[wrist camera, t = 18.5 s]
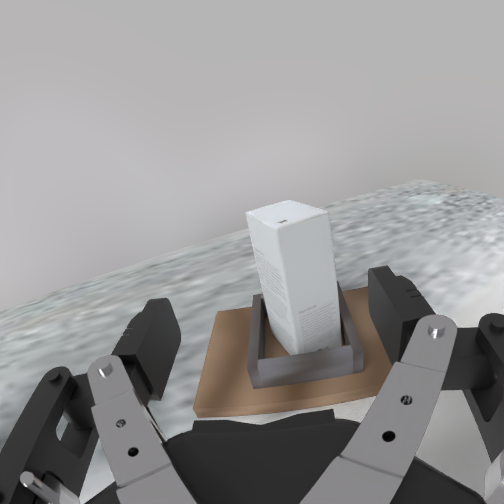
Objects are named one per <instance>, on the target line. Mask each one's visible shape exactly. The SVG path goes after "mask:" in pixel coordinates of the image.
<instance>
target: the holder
mask: <svg viewBox="0 0 504 504" xmlns="http://www.w3.org/2000/svg"><path fill="white" fill-rule="evenodd" d="M337 288H338V299H339V312H340V325H341V340H342V347H337V348H332V349H326V350H321V351H315V352H309V353H303V354H296V355H290V354H289V353H288V352H287V351H286V350H285V348H284V347H283V346H282V345H281V344H280V342H279V341H278V340H277V339H276V338H275V336H274V335H273V334H272V332H271V327H270V323H269V318H268V313H267V309H266V304H265V300H264V295H263V294H258V295H253V305H252V307H247V308H240V309H233V310H226V311H218V312H217V315H216V319H215V323H214V327H213V331H212V335H211V338H210V342H209V346H208V350H207V354H206V358H205V362H204V366H203V370H202V374H201V378H200V382H199V386H198V391H197V395H196V399H195V403H194V407H193V409H194V411H195V413H196V415H197V417H198V418H199V417H227V416H243V415H255V414H266V413H276V412H284V411H292V410H300V409H307V408H313V407H320V406H326V405H331V404H337V403H342V402H347V401H352V400H357V399H362V398H366V397H371V396H375V395H378V393H379V391H380V390H381V388H382V386H383V384H384V382H385V380H386V378H387V376H388V375H389V373H390V371H391V369H392V365H391V363H390V360H389V358H388V356H387V353H386V351H385V349H384V346H383V344H382V342H381V339H380V337H379V335H378V333H377V330H376V328H375V326H374V324H373V321H372V319H371V317H370V313H369V307H368V287H363V288H358V289H353V290H347V291H341V288H340V286H339V283H338V281H337Z"/></svg>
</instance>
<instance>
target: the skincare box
mask: <svg viewBox="0 0 504 504" xmlns="http://www.w3.org/2000/svg"><path fill="white" fill-rule="evenodd" d="M246 218H247V222H248V227H249V232H250V236H251V241H252V246H253V250H254V255H255V259H256V264H257V268H258V273H259V277H260V282H261V286H262V291H263V295H264V300H265V304H266V309H267V313H268V318H269V323H270V327H271V332H272V334H273V335H274V336H275V338H276V339H277V340H278V341H279V342H280V344H281V345H282V346H283V347H284V348H285V350H286V351H287V352H288V353H289V354H290V355H296V354H303V353H309V352H315V351H321V350H326V349H332V348H337V347H342V340H341V325H340V312H339V299H338V288H337V278H336V268H335V259H334V250H333V242H332V234H331V226H330V219H329V212H328V211H326V210H322V209H319V208H315V207H312V206H308V205H305V204H302V203H299V202H295V201H292V200H286V201H283V202H279V203H276V204H272V205H269V206H266V207H262V208H259V209H255V210H251V211H248V212H246Z"/></svg>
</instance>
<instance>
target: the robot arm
mask: <svg viewBox="0 0 504 504" xmlns="http://www.w3.org/2000/svg"><path fill="white" fill-rule="evenodd" d="M368 307H369V313H370V317H371V319H372V321H373V324H374V326H375V328H376V330H377V333H378V335H379V337H380V339H381V342H382V344H383V346H384V349H385V351H386V353H387V356H388V358H389V360H390V363H391V365H392V369H391V371H390V373H389V375H388V376H387V378H386V380H385V382H384V384H383V386H382V388H381V390H380V391H379V393H378V395H377V397H376V399H375V400H374V402H373V404H372V406H371V407H370V409H369V411H368V413H367V414H366V416H365V418H364V419H363V421H362V423H359V422H356V421H352V420H346V419H336V418H335V417H334V412H333V409H329V410H323V411H316V412H309V413H302V414H296V415H293V416H290V417H287V418H284V419H281V420H277V421H274V422H271V423H267V424H263V425H256V424H249V423H242V422H236V421H230V420H200V421H194V423H193V428H192V430H191V431H187V432H184V433H181V434H179V435H176V436H174V437H172V438H170V439H168V440H167V438H166V437H165V435H164V433H163V432H162V430H161V428H160V426H159V425H158V423H157V421H156V419H155V417H154V416H153V414H152V412H151V410H150V409H149V407H148V403H149V400H159V401H161V399H162V396H163V393H164V390H165V387H166V384H167V381H168V378H169V375H170V372H171V369H172V366H173V363H174V360H175V357H176V354H177V351H178V348H179V346H180V342H181V332H180V328H179V325H178V322H177V320H176V317H175V314H174V312H173V309H172V306H171V303H170V301H169V300H168V299H167V298H160V299H151V300H149V301H148V302H147V304H146V306H145V307H144V309H143V311H142V312H139V313H138V314H137V315H136V316H135V317H134V318H133V319H132V320H131V321H130V323H129V324H128V326H127V329H125V331H124V333H123V336H121V338H120V340H119V341H118V343H117V345H116V347H115V348H114V350H113V352H112V354H111V355H108V356H104V357H101V358H99V359H97V360H96V361H95V362H93V363H92V364H91V366H90V367H89V369H88V372H87V373H86V374H81V375H77V376H73V375H72V374H71V372H70V371H69V369H68V368H66V367H56V368H54V369H52V370H50V371H49V372H47V373H46V374H45V375H44V377H43V378H42V380H41V381H40V383H39V385H38V386H37V388H36V390H35V391H34V393H33V395H32V396H31V398H30V400H29V401H28V403H27V405H26V407H25V408H24V410H23V412H22V414H21V415H20V417H19V419H18V421H17V423H16V424H15V426H14V428H13V430H12V432H11V434H10V436H9V438H8V439H7V441H6V443H5V445H4V447H3V449H2V451H1V453H0V504H80V501H79V496H80V492H81V489H82V486H83V483H84V480H85V477H86V474H87V471H88V468H89V465H90V462H91V459H92V456H93V453H94V450H95V447H96V444H97V441H98V439H99V437H100V440H101V443H102V446H103V449H104V452H105V454H106V457H107V460H108V463H109V465H110V468H111V471H112V473H113V476H114V478H115V482H113V483H112V484H111V485H109V486H108V487H107V488H105V489H104V490H103V491H101V492H100V493H98V494H97V495H96V496H94V497H93V498H92V499H90V500H89V501H87V502H86V503H85V504H504V315H502V314H498V313H490V314H487V315H485V316H483V317H482V318H481V319H480V321H479V325H478V327H475V328H457V326H456V324H455V322H454V321H453V320H451V319H450V318H448V317H446V316H443V315H436V314H435V312H434V311H433V309H432V308H431V307H430V305H429V304H428V303H427V301H426V300H425V299H424V297H423V296H421V293H420V292H419V291H418V290H417V288H416V287H415V285H414V284H413V283H412V281H410V280H409V279H407V278H405V277H403V276H395V275H394V273H393V272H392V271H391V269H390V268H389V267H388V266H382V267H376V268H370V269H369V271H368ZM440 390H462V391H463V393H464V395H465V397H466V400H467V402H468V404H469V406H470V409H471V411H472V413H473V416H474V418H475V421H476V423H477V425H478V428H479V430H480V433H481V436H482V438H483V441H484V443H485V446H486V449H487V451H488V454H489V457H490V460H491V463H492V464H491V465H490V467H489V468H488V470H487V472H486V474H485V480H484V483H485V495H484V498H482V497H481V496H480V495H479V494H478V493H477V492H475V491H473V490H472V489H470V488H468V487H466V486H464V485H463V484H461V483H459V482H457V481H456V480H454V479H452V478H450V477H449V476H447V475H445V474H444V473H442V472H440V471H439V470H437V469H435V468H434V467H432V466H430V465H429V464H427V463H425V462H424V461H422V460H421V459H419V458H417V457H416V456H415V454H416V451H417V449H418V447H419V445H420V442H421V440H422V438H423V435H424V433H425V431H426V428H427V426H428V423H429V421H430V418H431V415H432V413H433V410H434V407H435V405H436V402H437V399H438V396H439V393H440ZM62 414H63V416H64V417H65V418H66V419H67V421H68V425H67V427H66V429H65V431H64V434H63V436H62V438H61V441H59V439H58V438H57V435H56V427H57V425H58V423H59V420H60V418H61V416H62Z"/></svg>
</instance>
